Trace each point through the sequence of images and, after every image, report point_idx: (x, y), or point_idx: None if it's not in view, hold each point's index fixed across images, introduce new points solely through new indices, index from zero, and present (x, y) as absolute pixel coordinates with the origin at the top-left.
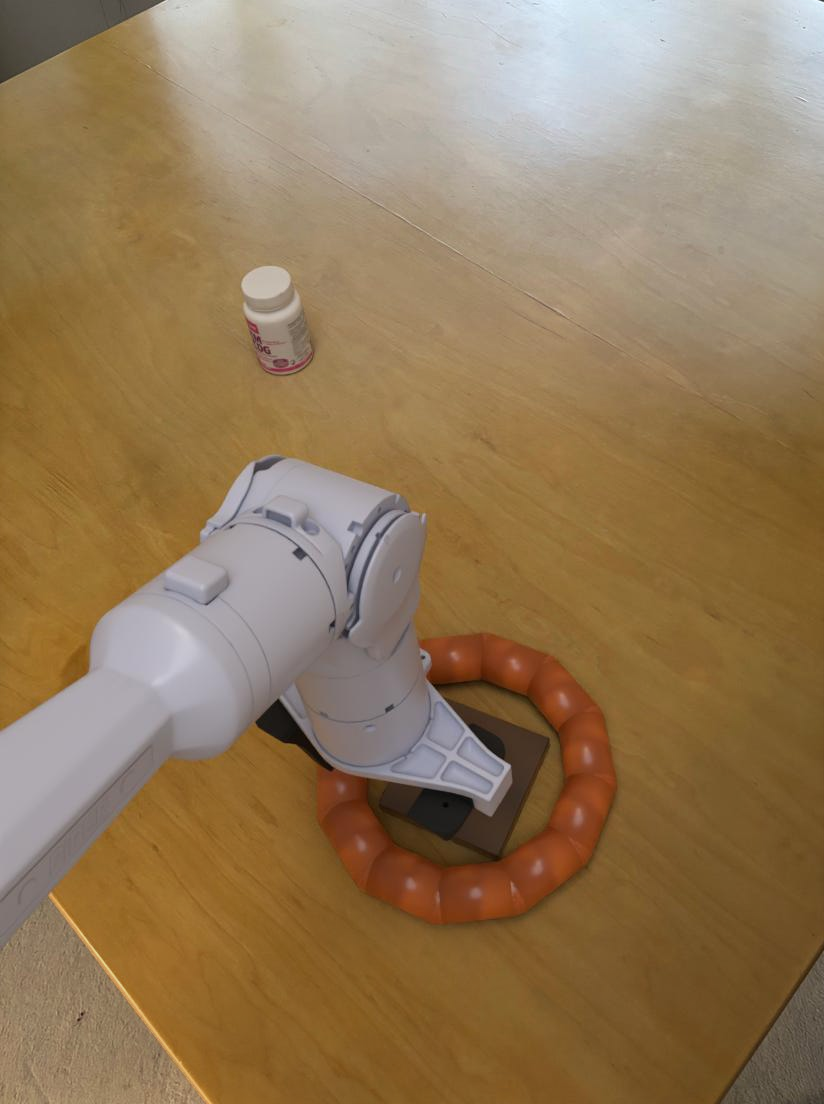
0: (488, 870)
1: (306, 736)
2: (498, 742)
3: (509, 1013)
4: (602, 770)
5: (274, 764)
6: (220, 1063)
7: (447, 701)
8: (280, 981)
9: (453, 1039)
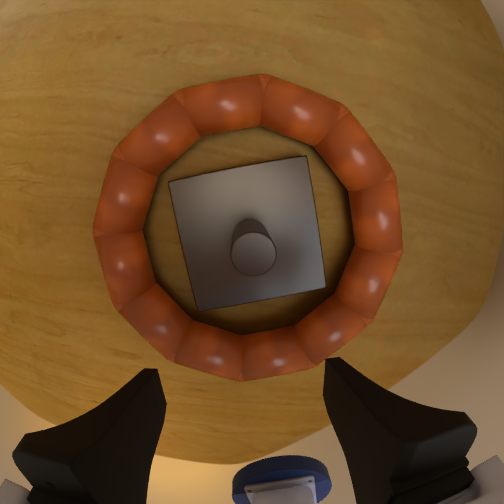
0: (340, 321)
1: (140, 497)
2: (466, 430)
3: (377, 358)
4: (386, 171)
5: (99, 320)
6: (231, 459)
7: (184, 181)
8: (228, 424)
9: None
